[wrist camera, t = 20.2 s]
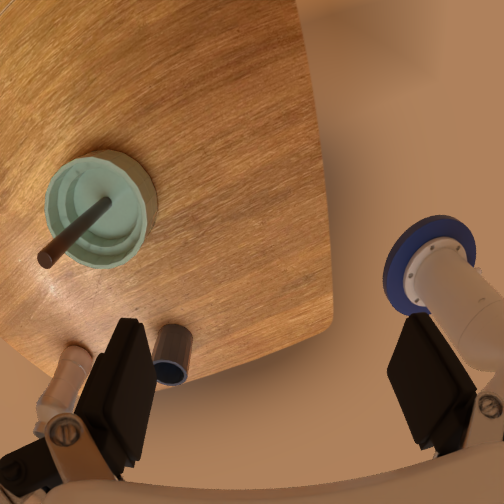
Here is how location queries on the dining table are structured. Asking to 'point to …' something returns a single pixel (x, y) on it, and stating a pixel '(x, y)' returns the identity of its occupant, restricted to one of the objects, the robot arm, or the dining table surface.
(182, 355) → the utensil pot
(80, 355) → the plastic bottle
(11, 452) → the robot arm
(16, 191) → the dining table surface
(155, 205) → the bowl
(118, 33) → the dining table surface
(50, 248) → the stirring stick
